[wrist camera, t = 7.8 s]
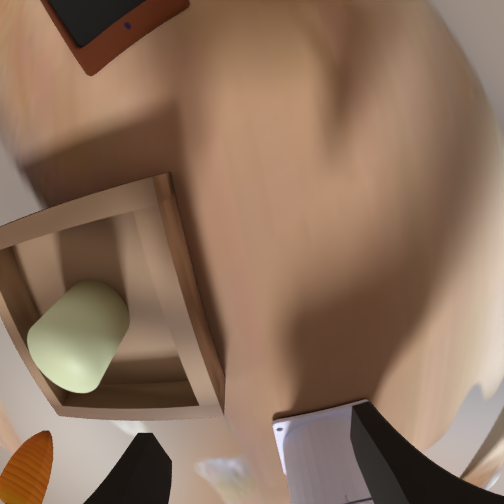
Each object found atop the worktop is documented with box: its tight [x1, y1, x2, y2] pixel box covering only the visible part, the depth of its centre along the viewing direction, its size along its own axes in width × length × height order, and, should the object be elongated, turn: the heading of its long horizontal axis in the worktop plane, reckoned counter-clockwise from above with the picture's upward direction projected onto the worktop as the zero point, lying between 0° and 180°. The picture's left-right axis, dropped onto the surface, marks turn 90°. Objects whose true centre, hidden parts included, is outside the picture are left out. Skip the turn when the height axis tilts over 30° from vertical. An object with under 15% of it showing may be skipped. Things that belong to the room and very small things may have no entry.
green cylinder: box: [27, 279, 130, 393], centre depth 14 cm, size 4×4×5 cm
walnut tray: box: [0, 172, 225, 421], centre depth 16 cm, size 14×13×4 cm
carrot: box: [0, 431, 53, 504], centre depth 15 cm, size 5×5×15 cm
